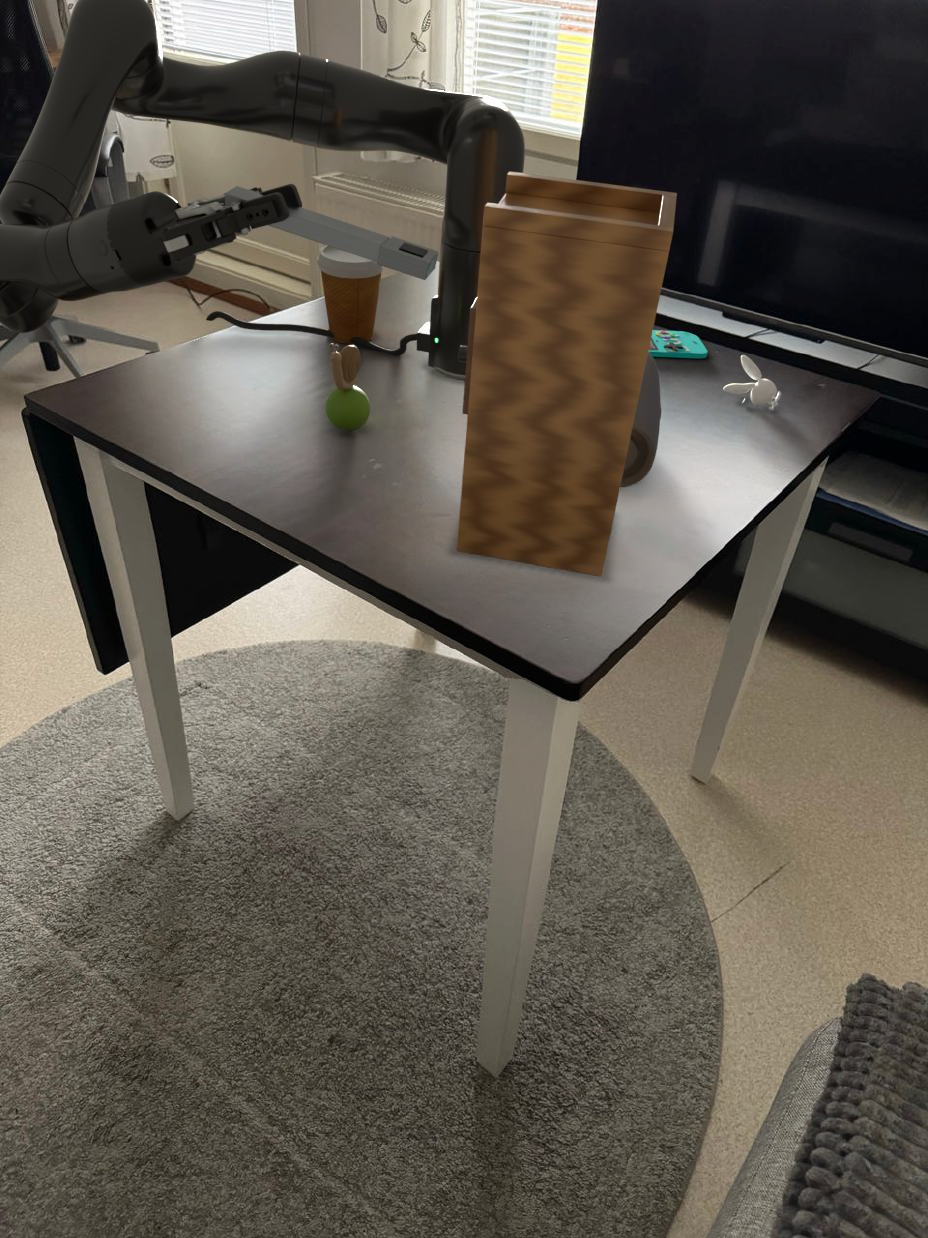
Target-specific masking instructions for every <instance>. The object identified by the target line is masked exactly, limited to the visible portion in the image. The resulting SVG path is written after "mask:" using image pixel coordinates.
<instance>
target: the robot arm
mask: <svg viewBox="0 0 928 1238" xmlns="http://www.w3.org/2000/svg"><path fill="white" fill-rule="evenodd" d="M159 27H160V26H159V23H158V20H157V18H156V15H155V13H154V11H153V10H152V8H151V6H150V5H149V3H148V2H147V1H146V0H77V1H76V3H75V5H74V7H73V9H72V12H71V16H70V18H69V21H68V25H67V29H66V33H65V37H64V41H63V45H62V49H61V53H60V56H59V59H58V62H57V66H56V67H55V68H56V69H55V72H54V75H53V78H52V79H51V80H52V81H51V82H50V87H49V89H48V92H47V95H46V98H45V100H44V103H43V105H42V108H41V110H40V113H39V115H38V117H37V120H36V122H35V124H34V127H33V129H32V131H31V133H30V136H29V138H28V140H27V142H26V145H25V146H24V148H23V150H22V152H21V154H20V156H19V158H18V160H17V162H16V163H15V166H14V168H13V170H12V172H11V173H10V175H9V178H8V179H7V181H6V183H5V185H4V187H3V189H2V191H1V193H0V325H1V326H2V327H4V328H6V329H7V330H9V331H12V332H14V333H18V334H26V333H30V332H33V331H36V330H38V329H40V328H41V327H43V326H44V325H46V323H47V322H49V320H50V319H51V318H52V316H53V315H54V313H55V311H56V309H57V306H58V304H59V301H63V302H77V301H82V300H86V299H90V298H95V297H98V296H102V295H106V294H109V293H110V294H111V293H117V292H120V293H121V292H128V291H132V290H137V289H141V288H144V287H149V286H152V285H153V286H154V285H156V284H160V283H164V282H168V281H173V280H176V279H180V278H184V277H186V276H187V275H189V274H191V272H192V271H193V269H194V267H195V266H196V262H197V256H198V255H202V254H204V253H206V252H207V251H209V250H210V249H215V248H219V247H223V246H226V245H227V244H230V243H233V242H234V241H235V240H236V239H237V237H239V236H247V235H249V233H251V232H252V230H255V229H258V228H262V227H266V226H268V225H270V224H274V223H277V222H281V221H284V220H286V219H287V218H288V217H289V210H288V208H287V205H286V203H289V204H292V205H295V206H298V207H301V208H303V201H302V199H301V196H300V193H299V191H298V188H297V186H296V185H295V184H294V183H288V184H284V185H281V186H277V187H273V188H270V189H267V190H264V191H263V190H262V188H261V187H256V186H255V187H252V188H250V189H248V190H251V191H254V192H257V193H260V194H263V195H266V196H262V197H259V198H255V199H251V200H248V201H245V202H243V203H242V205H243V208H242V206H241V203H240V202H238V203H236V202H233V203H230V205H226V206H225V193H226V192H224V193H223V194H221V195H217V196H215V197H211V198H208V197H201V198H197V199H195V200H191V201H189V202H187V203H186V206H181V205H180V204H179V202H178V201H177V200H176V199H175V198H174V197H172V196H171V195H169V194H167V193H166V192H163V191H158V190H154V191H150V192H146V193H143V194H139V195H136V196H133V197H130V198H126V199H123V200H121V201H117V202H113V203H110V204H107V205H103V206H100V207H96V208H95V209H92V210H90V211H88V212H86V213H85V214H83V215H80V214H81V212H82V210H83V208H84V205H85V204H86V201H87V199H88V197H89V195H90V191H91V188H92V185H93V182H94V178H95V175H96V171H97V166H98V163H99V158H100V154H101V149H102V144H103V140H104V135H105V131H106V127H107V123H108V119H109V117H110V114H111V111H113V112H116V113H119V114H124V115H129V116H136V117H143V118H151V119H158V120H159V119H160V120H169V121H176V122H177V121H179V122H188V123H197V124H203V125H209V126H214V127H220V128H226V129H229V130H230V129H231V130H234V131H235V130H236V131H241V132H244V133H245V132H246V133H252V134H256V135H261V136H267V137H271V138H275V139H278V140H282V141H286V142H289V143H294V144H298V145H303V146H306V147H307V146H308V147H312V148H315V149H321V150H327V151H335V152H336V151H337V152H398V153H404V154H405V153H406V154H408V155H413V156H417V157H420V158H424V159H428V160H431V161H433V162H437V163H440V164H443V165H445V166H446V181H445V194H444V195H445V197H444V206H443V207H444V208H443V214H442V217H441V221H440V223H441V224H440V240H439V241H440V244H439V262H438V263H439V264H438V283H437V295H435V296H434V297H432V298H431V301H430V315H429V316H430V317H429V321H425V323H424V324H423V326H421V327H420V329H419V330H418V331H417V333H410V334H407V335H404V336H403V337H402V338H401V339H400V341H399V348H397V349H387V348H384V347H381V346H379V345H378V344H375V343H373V342H371V341H370V340H369V341H367V340H365V339H362V338H360V337H354V338H351V339H350V341H351V342H353V343H356V344H355V345H358V346H361V347H364V348H366V349H368V350H371V351H375V352H378V353H382V354H386V355H390V356H395V357H398V356H399V357H400V356H403V355H404V354H406V352H407V344H408V343H410V342H414V341H415V342H416V351H417V352H424V353H428V357H427V358H428V359H427V366H428V367H430V368H433V369H435V371H436V372H437V373H439V374H440V375H442V376H445V377H446V378H450V379H454V380H458V381H459V380H460V381H465V373H466V362H461V361H459V360H458V353H459V348H460V346H468V334H469V321H470V308H471V307H472V305H473V303H474V301H475V300H476V298H477V292H478V280H479V268H480V255H481V243H482V230H483V217H484V206H485V205H486V204H487V203H494V204H498V203H499V202H500V200H501V199H502V197H503V196H504V194H505V193H506V192H505V191H506V180H507V174H508V173H509V171H510V172H518V173H524V167H525V156H526V153H525V152H526V144H525V137H524V132H523V130H522V128H521V125H520V123H519V122H518V121H517V119H516V117H515V116H514V114H513V113H512V112H511V111H510V109H509V108H508V107H507V106H506V105H505V104H504V103H503V102H501V101H500V100H498V99H496V98H494V97H491V96H488V95H481V94H475V93H474V94H472V93H461V92H454V91H453V92H452V91H446V90H445V91H444V90H438V89H431V88H430V89H429V88H424V87H418V86H412V85H409V84H405V83H402V82H399V81H396V80H394V79H391V78H387V77H386V76H382V75H379V74H377V73H373V72H371V71H367V70H364V69H360V68H358V67H354V66H350V65H347V64H343V63H341V62H337V61H334V60H330V59H326V58H322V57H318V56H314V55H310V54H305V53H300V52H296V51H292V50H275V51H269V52H263V53H260V54H256V55H253V56H249V57H245V58H242V59H239V60H237V61H233V62H229V63H225V64H218V65H217V64H216V65H206V64H205V65H204V64H195V63H190V62H185V61H182V60H181V61H180V60H177V59H172V58H169V57H166V56H163V49H162V38H161V33H160V28H159ZM216 319H222V320H224V321H226V322H228V323H230V324H231V325H233V326H235V327H237V328H241V329H244V330H250V331H251V330H252V331H265V332H267V331H271V332H272V331H273V332H275V331H277V332H280V331H281V332H282V331H283V332H298V333H305V334H313V335H319V336H323V337H328V338H331V339H332V338H334V334H333V333H332V332H331V331H330V330H329V329H327V328H323V327H316V326H311V325H303V324H294V323H263V322H262V323H260V322H250V321H243V320H240V319H238V318H236V317H234V316H232V315H231V314H229V313H228V312H225V311H223V310H215V311H212V312H211V313H209V314H208V315H207V317H206V318H205V320H206V321H208V322H213V321H214V320H216Z"/></svg>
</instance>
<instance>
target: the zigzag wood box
mask: <svg viewBox="0 0 928 1238" xmlns="http://www.w3.org/2000/svg"><path fill="white" fill-rule="evenodd" d="M505 192H506V193H505V194H504V196H503V197H502V199H501V200H500V202H499V203H498V204H494V203H487V204H486V205H485V206H484V217H483V230H482V243H481V255H480V268H479V280H478V292H477V298H476V300H475V301H474V303H473V305H472V307H471V308H470V321H469V334H468V346H460V348H459V353H458V360H459V361H461V362H466V373H465V380H464V387H463V398H462V399H463V401H462V415H467V417H466V430H465V441H464V442H465V444H464V455H463V468H462V482H461V492H460V493H461V494H460V505H459V506H460V507H459V518H458V529H457V531H458V532H457V541H456V551H457V552H462V553H467V554H473V555H477V556H482V557H483V556H484V557H488V558H489V557H490V558H495V559H501V560H506V561H510V562H511V561H512V562H516V563H517V562H518V563H523V564H528V565H535V566H540V567H546V568H550V569H555V570H562V571H566V572H567V571H568V572H573V573H578V574H583V575H589V576H596V577H602V576H603V572H604V568H605V563H606V559H607V558H606V557H607V552H608V547H609V544H610V538H611V534H612V530H613V523H614V518H615V514H616V510H617V505H618V500H619V495H620V491H621V488H620V486H621V481H622V476H623V471H624V466H625V462H626V457H627V452H628V447H629V442H630V438H631V433H632V428H633V423H634V418H635V413H636V409H637V404H638V399H639V394H640V389H641V385H642V380H643V375H644V370H645V365H646V360H647V356H648V351H649V346H650V341H651V336H652V331H653V330H654V326H655V323H656V317H657V311H658V306H659V302H660V297H661V293H662V288H663V283H664V278H665V273H666V269H667V263H668V259H669V255H670V254H669V253H670V250H671V244H672V240H673V235H674V229H675V228H674V227H675V217H676V206H677V198H678V193H677V192H672V191H664V190H655V189H647V188H640V187H632V186H624V185H617V184H610V183H603V182H595V181H587V180H579V179H572V178H571V179H570V178H563V177H557V176H549V175H541V174H534V173H526V172H525V173H524V172H523V173H518V172H510V171H509V173H508V174H507V180H506V191H505Z"/></svg>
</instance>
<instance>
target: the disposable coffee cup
mask: <svg viewBox="0 0 928 1238" xmlns="http://www.w3.org/2000/svg"><path fill="white" fill-rule="evenodd" d="M318 253H319V254H318V257H317V258H316V263H317V266H318V268H319V270H320V276H321V282H322V288H323V290H322V291H323V295H324V303H325V309H326V316H327V323H328V330H330V331H331V332H332V333H333V334H334V338H331V339H332V340H334V341H335V342H339V343H343V344H348V345H357V344H356V343H353V342H351V341H350V339H351V338H354V337H360V338H362V339H365V340H367V341H369V342H370V341H371V340H372V339H373V337H374V330H375V323H376V317H377V316H376V315H377V308H378V301H379V293H380V287H381V280H382V272H383V271H384V268H385V267H384V266H381V265H378V264H377V262H375V261H372V260H369V259H366V258H363V257H360V256H358V255H355V254H352V253H349V252H346V251H343V250H340V249H337V248H334V247H331V246H328V245H324V246H322V247H321V248H320V250H319V252H318Z"/></svg>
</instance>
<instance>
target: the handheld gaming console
mask: <svg viewBox="0 0 928 1238" xmlns="http://www.w3.org/2000/svg"><path fill="white" fill-rule="evenodd" d="M649 352H650V354H651V355H652V357H653V358H655V357H657V358H680V359H705V358H707V356H708V350H707V348H706V346H705V345H704V343H703V342H702V340H701V339H700V337H699V336H697V335H696V334H693V333H691V332H688V331H683V330H663V329H661V330H660V329H653V331H652V336H651V341H650V346H649Z"/></svg>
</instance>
